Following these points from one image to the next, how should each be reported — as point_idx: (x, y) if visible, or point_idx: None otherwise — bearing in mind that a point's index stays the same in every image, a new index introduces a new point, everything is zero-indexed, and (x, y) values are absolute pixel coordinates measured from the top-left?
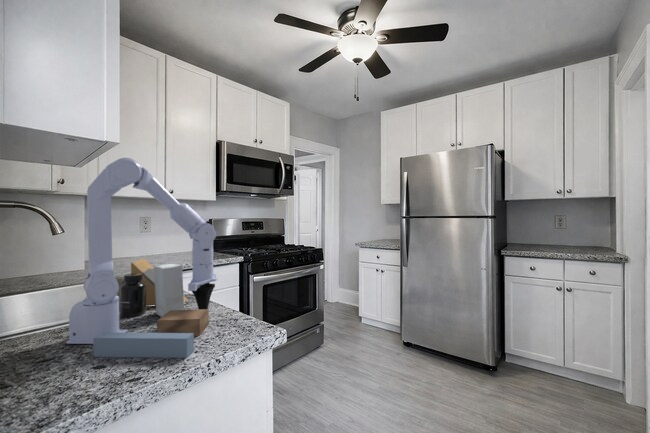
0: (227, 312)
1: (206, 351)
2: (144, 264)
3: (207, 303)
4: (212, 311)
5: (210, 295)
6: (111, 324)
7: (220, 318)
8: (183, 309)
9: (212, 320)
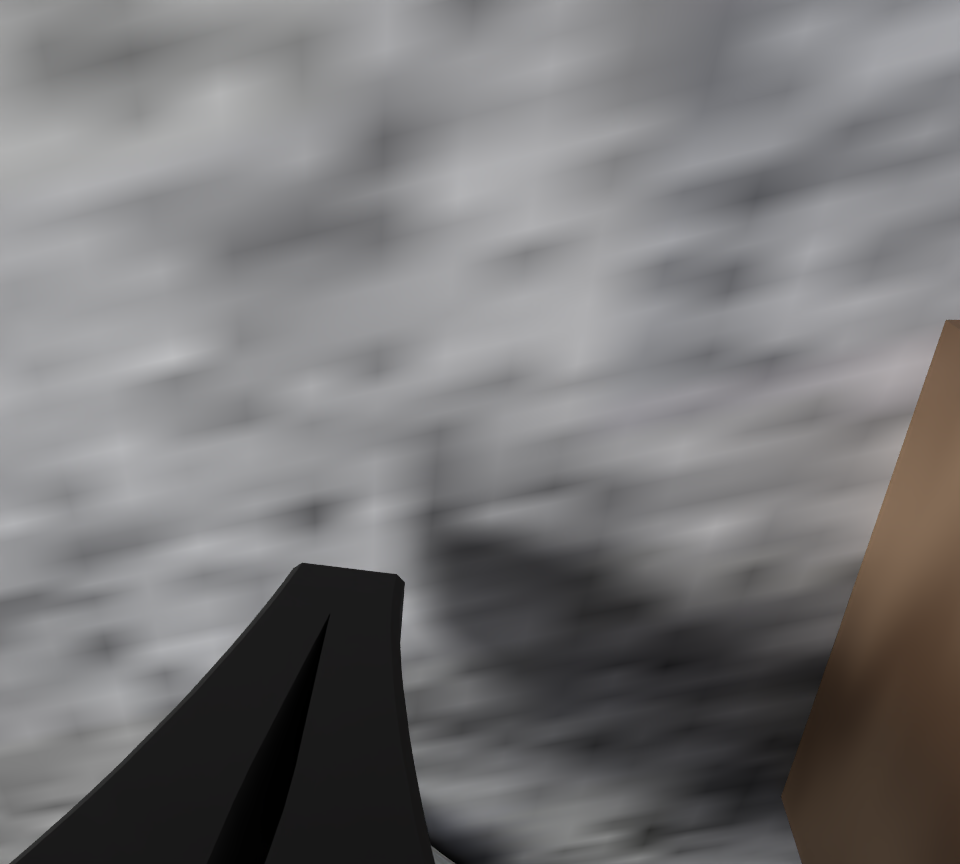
0: (67, 77)
1: None
2: None
3: (342, 674)
4: (69, 444)
5: (86, 842)
6: None
7: (558, 151)
8: None
9: (672, 307)
